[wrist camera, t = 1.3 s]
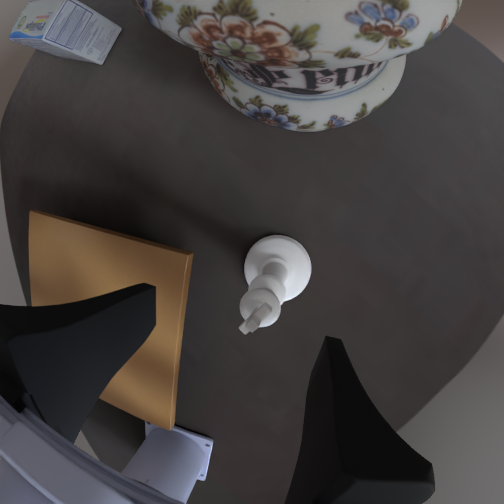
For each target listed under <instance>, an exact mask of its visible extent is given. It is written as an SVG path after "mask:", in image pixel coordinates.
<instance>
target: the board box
mask: <svg viewBox="0 0 504 504" xmlns="http://www.w3.org/2000/svg"><path fill="white" fill-rule="evenodd" d="M192 260H193V252H191V251H187V250H183V249H179V248H175V247H171V246H168V245H164V244H160V243H156V242H152V241H149V240H145V239H141V238H137V237H134V236H130V235H126V234H122V233H119V232H115V231H111V230H108V229H104V228H100V227H97V226H93V225H89V224H86V223H82V222H79V221H75V220H71V219H68V218H64V217H61V216H57V215H53V214H50V213H46V212H43V211H39V210H31V211H30V213H29V273H30V289H31V300H32V306H47V305H58V304H65V303H71V302H76V301H80V300H85V299H88V298H92V297H96V296H100V295H103V294H106V293H110V292H113V291H116V290H119V289H123V288H126V287H129V286H132V285H136V284H140V283H148V284H150V285H153V286H156V326H155V328H154V329H153V331H152V332H151V334H150V335H149V337H148V338H147V340H146V341H145V342H144V344H143V345H142V346H141V347H140V348H139V349H138V350H137V351H136V352H135V354H134V355H133V356H132V357H131V358H130V359H129V360H128V361H127V362H126V363H125V364H124V366H123V367H122V368H121V369H120V370H119V371H118V372H117V373H116V374H115V376H114V377H113V378H112V379H111V381H110V382H109V383H108V385H107V386H106V388H105V389H104V391H103V392H102V394H101V395H100V397H99V398H100V399H102V400H104V401H106V402H108V403H110V404H112V405H114V406H116V407H117V408H120V409H122V410H124V411H126V412H128V413H130V414H132V415H134V416H136V417H138V418H141V419H143V420H145V421H147V422H150V423H152V424H154V425H157V426H159V427H161V428H164V429H166V430H169V431H171V430H172V428H173V427H174V424H175V409H176V397H177V385H178V374H179V363H180V353H181V344H182V335H183V327H184V318H185V310H186V302H187V295H188V288H189V280H190V273H191V267H192Z"/></svg>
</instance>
